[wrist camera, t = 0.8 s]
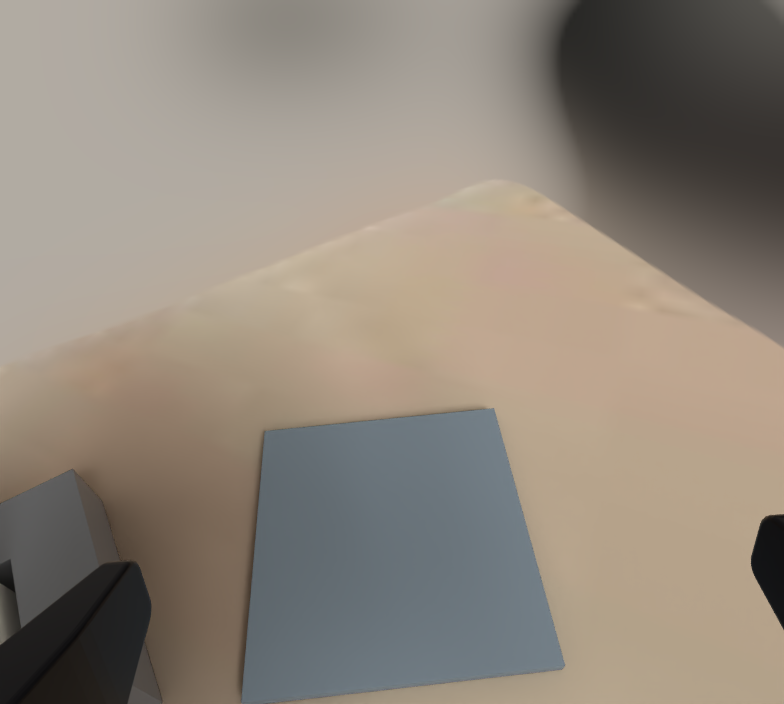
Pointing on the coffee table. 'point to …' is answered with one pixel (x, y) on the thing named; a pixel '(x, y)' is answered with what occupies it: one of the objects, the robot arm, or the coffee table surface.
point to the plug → (8, 614)
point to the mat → (391, 561)
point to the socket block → (60, 553)
